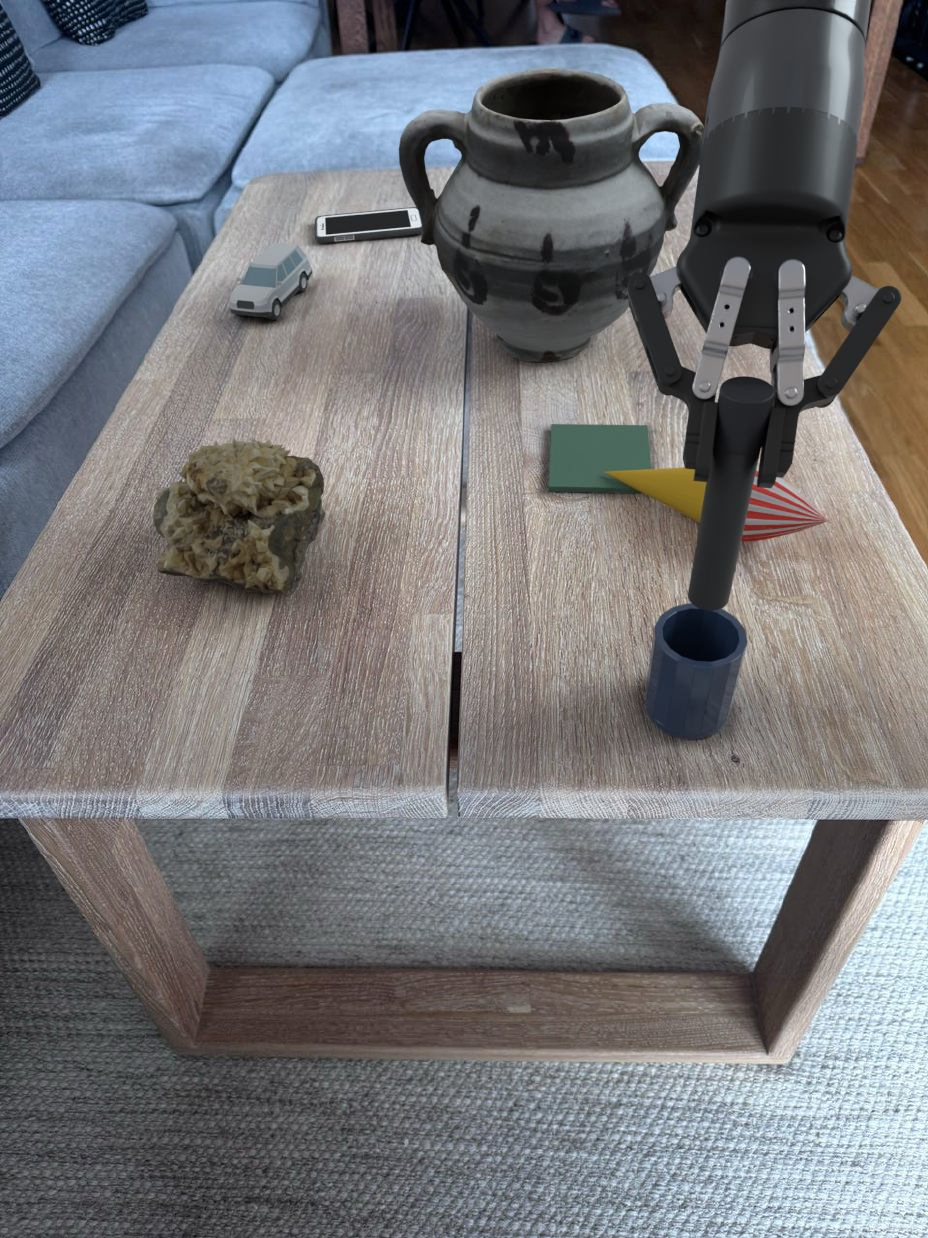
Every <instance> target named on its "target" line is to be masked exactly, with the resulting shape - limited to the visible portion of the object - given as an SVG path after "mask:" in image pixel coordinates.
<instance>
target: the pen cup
mask: <svg viewBox="0 0 928 1238" xmlns="http://www.w3.org/2000/svg"><path fill="white" fill-rule="evenodd" d="M748 643H749V642H748V636H747V631H746V628H745V627H744V626H743V624H742V623H741V622H740V620H738V618H737V617H736V616H734V615H733V614H732V613H730V612H728V611H727V610H725V609H723V608H722V609H719V610H714V611H707V610H702V609H700V608H697V607H696V606H694V605H693V604H692V603H691V602H690V603H684V604H680V605H676V606H672V607H671V608H669V609H667V610H666V611H665V612H663V613H662V614H661V615H659V617H658V618H657V621H656V623H655V625H654V628H653V635H652V641H651V649H650V656H649V663H648V670H647V677H646V683H645V684H646V685H645V691H644V696H645V697H644V709H645V712H646V715H647V717H648V718H649V720H650V722H652V723H653V724H654V726H656V728H658V729H659V730H661V732H663V733H665V734H667V735H670V736H672V737H676V738H679V739H684V740H700V739H705V738H709V737H711V736H714V735H715V734H717V733H718V732H720V731H721V730H722V729H724V727H725V725H727V722H728V720H729V717H730V713H731V710H732V707H733V705H734V700H735V695H736V691H737V687H738V684H739V679H740V674H741V671H742V667H743V663H744V659H745V655H746V652H747V647H748Z"/></svg>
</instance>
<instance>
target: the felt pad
mask: <svg viewBox="0 0 928 1238" xmlns="http://www.w3.org/2000/svg"><path fill="white" fill-rule="evenodd" d="M651 460H652V459H651V450H650V438H649V427H648V425H647V424H585V423H584V424H583V423H582V424H581V423H579V424H577V423H576V424H575V423H574V424H571V423H551V424H550V445H549V462H548V463H549V465H548V487H547V488H548V490H547V492H550V493H551V492H552V493H553V492H555V493H595V494H596V493H603V494H643V493H642V492H640V491H638V490H636V489H634V488H632V487H630V486H628V485H626V484H625V483H623V482H621V481H619V480H617V479H615V478H613V477H611V476H609V475H608V474H606V473H604V472H610V471H628V470H646V469H652V463H651V462H652V461H651Z"/></svg>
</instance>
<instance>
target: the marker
mask: <svg viewBox="0 0 928 1238" xmlns="http://www.w3.org/2000/svg"><path fill="white" fill-rule="evenodd" d="M774 393H775V392H774V388H773V387H772V385H771V384H770V383H769V382H768V381H766V380H764V379H762V378H759V377H755V376H748V375H746V376H745V375H744V376H734V377H730V378H727V379H726V380H725V381H722V383H721V385H720V386H719V393H718V399H717V402H719V406H718V414H717V421H716V429H715V436H714V444H713V452H712V459H711V467H710V473H709V478H708V481H707V482H706V488H705V494H704V500H703V506H702V512H701V518H700V523H698V531H697V538H696V543H695V549H694V554H693V561H692V565H691V566H692V567H691V573H690V579H689V584H688V591H687V598H688V601H689V602H690V603H692V604H693V605H694V606H696V607H697V608H700V609H702V610H707V611H714V610H719V609H723V608H725V607H726V606H727V605H728V603H729V601H730V597H731V591H732V587H733V582H734V578H735V573H736V568H737V564H738V559H739V554H740V549H741V545H742V542H741V540H742V535H743V531H744V526H745V521H746V516H747V512H748V507H749V502H750V497H751V493H752V488H753V483H754V478H755V474H756V469H757V465H759V460H760V455H761V448H762V446H763V444H764V439H765V434H766V430H767V425H768V420H769V415H770V411H771V407H772V403H773V399H774Z"/></svg>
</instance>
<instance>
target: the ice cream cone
mask: <svg viewBox="0 0 928 1238" xmlns="http://www.w3.org/2000/svg"><path fill="white" fill-rule="evenodd" d="M758 471H759V464H757V469H756V474H755V478H754V483H753V488H752V493H751V497H750V502H749V507H748V512H747V516H746V521H745V526H744V531H743V535H742V540H741V543H749V542H751V543H752V542H758V541H765V540H770V539H774V538H779V537H783V536H787V535H791V534H795V533H798V532H802V531H805V530H808V529H810V528H814V527H816V526H818V525H822V524H824V523H827V522H829V519H827V518H826V517H825V515H824V514H823V513H822V512H821V511H819V509H818V508H817V507H816V506H815V505H814V504H813V503H812V501H810V499H808V498H807V497H806V496H804V495H803V494H802V493H801V492H800V491H799V490H798V489H796V488H795V487H794V486H792V485H791V484H790V483H788V482H787V481H786V480H784V479H783V478H779V477H776V481H775V484H774V485H773V487H772V488H761V487H757V478H758ZM694 472H695V470H694V469H685V466H684V467H683V466H682V467H668V468H667V467H666V468H651V469H646V470H628V471H610V472H604V473H606V474H608V475H609V476H611V477H613V478H615V479H617V480H619V481H621V482H623V483H625V484H626V485H628V486H630V487H632V488H634V489H636V490H638V491H640V492H642V493H641V494H644V495H646V496H647V497H649V498H651V499H653V500H655V501H656V502H659V503H660V504H662V505H664V506H666V507H668V508H670V509H672V510H674V511H676V512H678V513H679V514H681V515H683V516H685V517H687V518H689V519H691V520H692V521H694V522H696V523H698V524H700V518H701V512H702V506H703V500H704V494H705V488H706V482H700V481H694Z"/></svg>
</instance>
